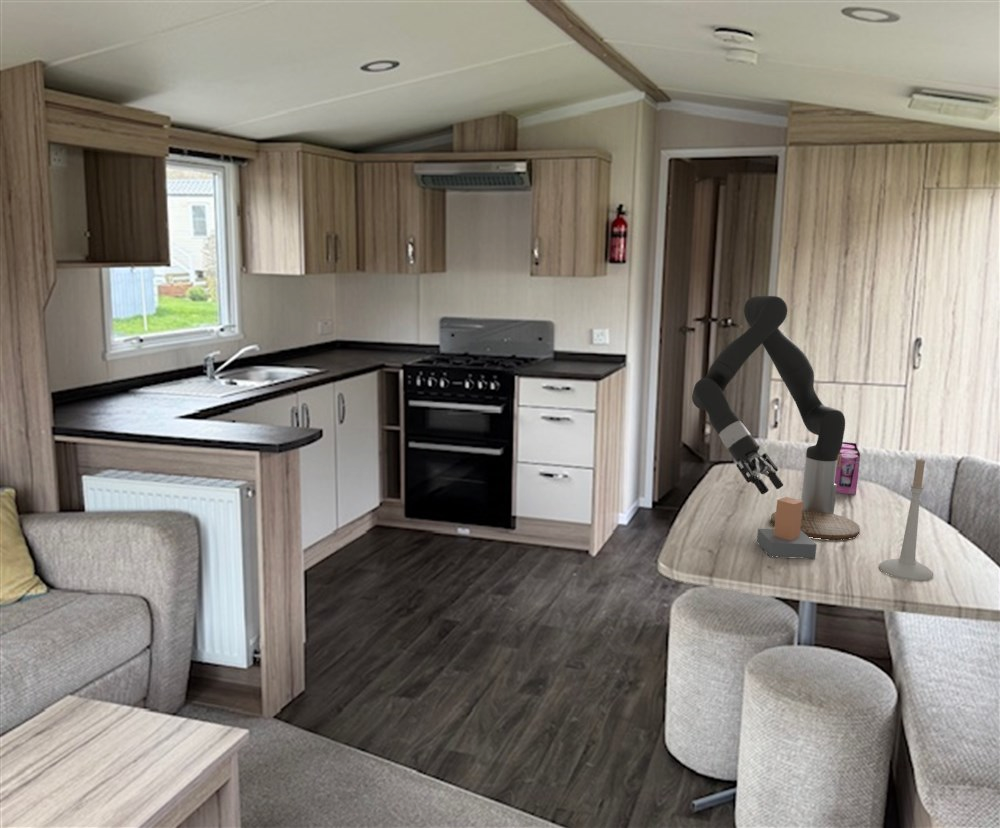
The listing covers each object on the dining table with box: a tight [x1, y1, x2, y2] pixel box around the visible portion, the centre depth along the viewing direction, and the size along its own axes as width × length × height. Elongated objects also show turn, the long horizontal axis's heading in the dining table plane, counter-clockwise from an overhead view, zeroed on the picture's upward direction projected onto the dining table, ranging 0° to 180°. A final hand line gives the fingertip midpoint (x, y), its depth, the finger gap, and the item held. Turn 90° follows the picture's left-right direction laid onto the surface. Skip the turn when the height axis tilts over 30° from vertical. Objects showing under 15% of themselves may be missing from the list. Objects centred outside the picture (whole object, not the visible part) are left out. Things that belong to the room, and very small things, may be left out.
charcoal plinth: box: [756, 528, 818, 559], centre depth 245 cm, size 12×12×4 cm
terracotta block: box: [773, 496, 803, 540], centre depth 244 cm, size 5×5×10 cm
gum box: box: [835, 441, 861, 496], centre depth 316 cm, size 24×8×14 cm, turn 162°
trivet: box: [770, 510, 861, 541], centre depth 268 cm, size 25×25×2 cm
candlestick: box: [878, 458, 934, 582], centre depth 230 cm, size 13×13×30 cm
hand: (773, 490), depth 246 cm, fingers open, 8 cm apart
